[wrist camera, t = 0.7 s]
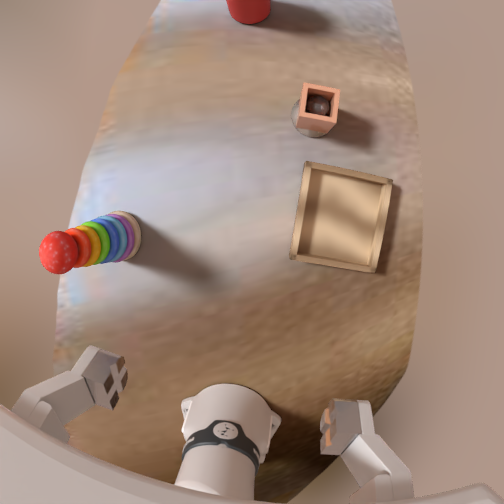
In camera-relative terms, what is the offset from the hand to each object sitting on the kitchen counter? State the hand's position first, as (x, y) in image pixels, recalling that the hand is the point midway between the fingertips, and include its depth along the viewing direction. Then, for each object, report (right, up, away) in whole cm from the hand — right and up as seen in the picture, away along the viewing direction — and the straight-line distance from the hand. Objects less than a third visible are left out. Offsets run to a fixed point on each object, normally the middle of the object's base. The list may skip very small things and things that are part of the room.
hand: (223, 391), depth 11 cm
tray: (+14, +10, +33) cm, 37 cm away
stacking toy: (-20, +8, +36) cm, 42 cm away
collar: (+10, +25, +30) cm, 40 cm away
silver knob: (+10, +25, +30) cm, 40 cm away
